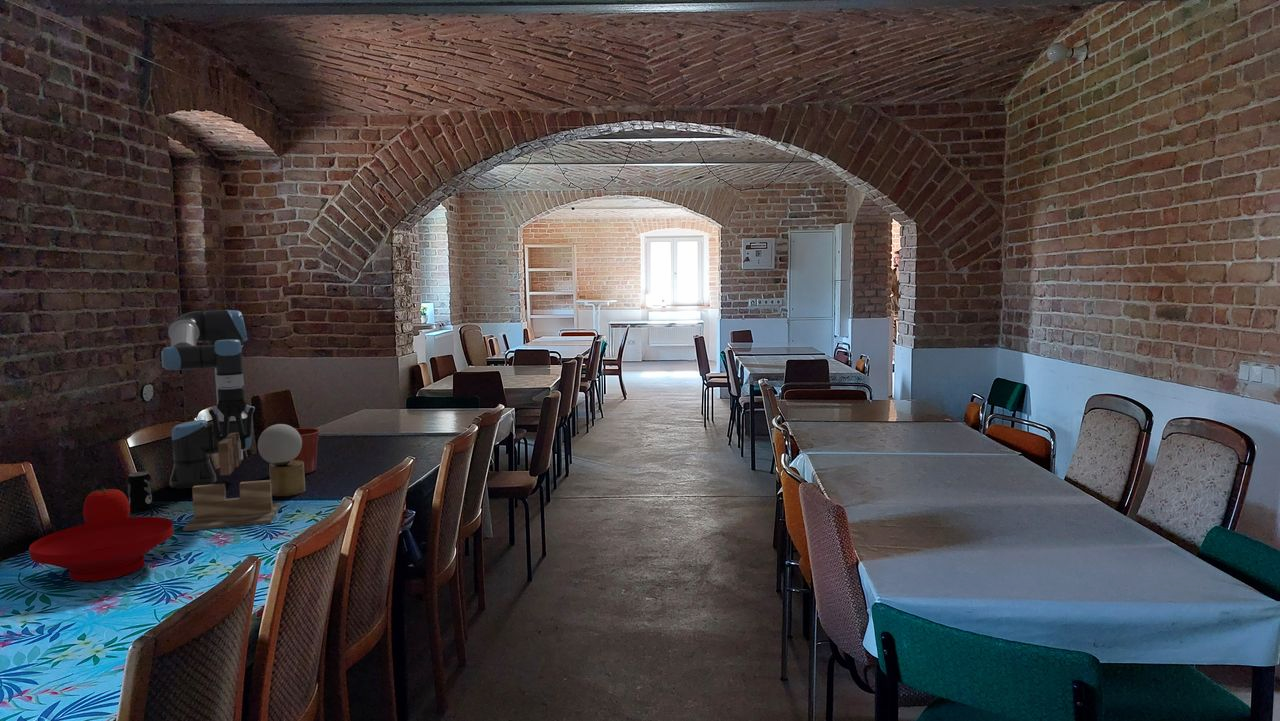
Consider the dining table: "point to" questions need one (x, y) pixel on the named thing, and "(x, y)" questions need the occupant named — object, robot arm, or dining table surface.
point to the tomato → (105, 506)
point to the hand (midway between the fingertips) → (235, 459)
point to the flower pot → (308, 448)
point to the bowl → (102, 547)
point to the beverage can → (140, 491)
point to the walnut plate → (229, 454)
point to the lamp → (283, 459)
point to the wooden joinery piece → (232, 506)
